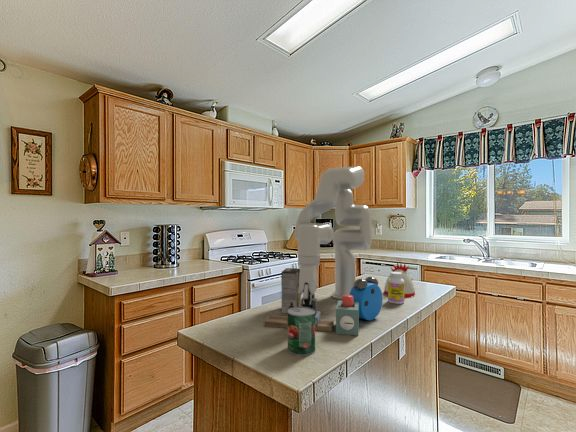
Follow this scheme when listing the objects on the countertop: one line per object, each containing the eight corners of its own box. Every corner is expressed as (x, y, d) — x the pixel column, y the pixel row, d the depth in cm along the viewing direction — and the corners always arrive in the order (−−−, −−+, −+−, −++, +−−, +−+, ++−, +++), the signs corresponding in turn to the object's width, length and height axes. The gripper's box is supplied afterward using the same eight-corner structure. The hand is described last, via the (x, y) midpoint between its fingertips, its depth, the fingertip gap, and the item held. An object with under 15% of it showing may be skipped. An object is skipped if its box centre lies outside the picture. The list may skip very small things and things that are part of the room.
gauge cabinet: (338, 323, 108) (338, 300, 108) (358, 324, 107) (358, 301, 107) (335, 334, 98) (335, 309, 98) (358, 336, 97) (358, 310, 97)
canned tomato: (321, 349, 87) (321, 311, 87) (301, 358, 82) (301, 317, 82) (301, 341, 93) (301, 305, 93) (281, 349, 87) (281, 310, 87)
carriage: (301, 316, 111) (301, 295, 111) (320, 317, 109) (320, 296, 109) (296, 323, 103) (296, 301, 103) (317, 325, 101) (317, 302, 101)
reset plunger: (342, 309, 105) (342, 294, 105) (353, 309, 104) (353, 295, 104) (341, 312, 101) (341, 297, 101) (353, 313, 101) (353, 297, 101)
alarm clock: (369, 313, 120) (369, 274, 120) (383, 317, 115) (383, 276, 115) (347, 320, 111) (347, 278, 111) (361, 325, 106) (361, 281, 106)
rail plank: (270, 319, 113) (270, 315, 113) (333, 324, 107) (333, 319, 107) (264, 325, 106) (264, 321, 106) (331, 331, 101) (331, 326, 101)
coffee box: (286, 306, 129) (285, 267, 129) (301, 307, 128) (301, 268, 128) (281, 313, 120) (281, 271, 120) (297, 314, 119) (297, 272, 119)
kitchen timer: (415, 298, 140) (415, 265, 140) (384, 296, 145) (384, 264, 144) (413, 291, 154) (413, 261, 154) (384, 289, 158) (384, 260, 158)
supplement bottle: (388, 303, 132) (388, 273, 132) (387, 299, 138) (387, 271, 138) (405, 304, 130) (405, 274, 130) (403, 300, 137) (403, 271, 137)
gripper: (302, 256, 115) (302, 305, 115) (292, 263, 98) (292, 320, 99) (322, 257, 113) (323, 307, 113) (316, 264, 97) (316, 322, 97)
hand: (309, 313), depth 106 cm, fingers closed on carriage, 4 cm apart
